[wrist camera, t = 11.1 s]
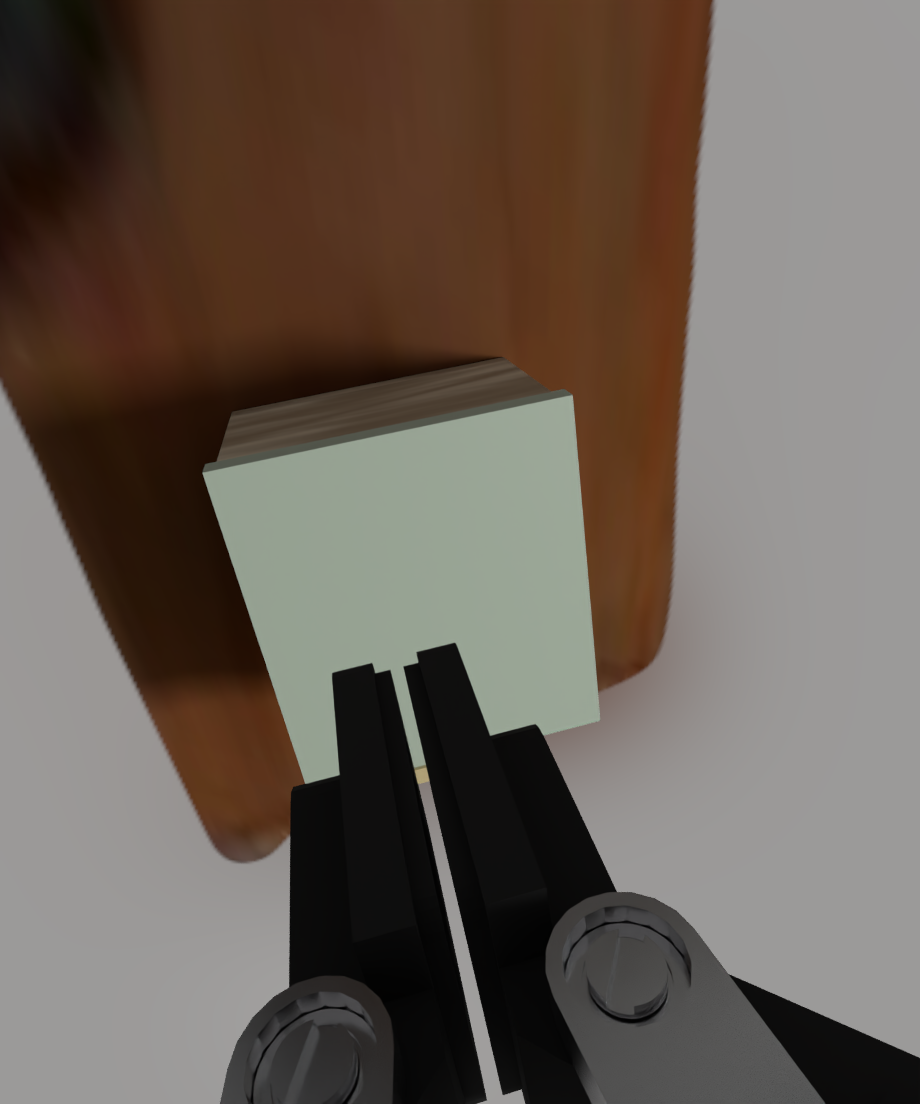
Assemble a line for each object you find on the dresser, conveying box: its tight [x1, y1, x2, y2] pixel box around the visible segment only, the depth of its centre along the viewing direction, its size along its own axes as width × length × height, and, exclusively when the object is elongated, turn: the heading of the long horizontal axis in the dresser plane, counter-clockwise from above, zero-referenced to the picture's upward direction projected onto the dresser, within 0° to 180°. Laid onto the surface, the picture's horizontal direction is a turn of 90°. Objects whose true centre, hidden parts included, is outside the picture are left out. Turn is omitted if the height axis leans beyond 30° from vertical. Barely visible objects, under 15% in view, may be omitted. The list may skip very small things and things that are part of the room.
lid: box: [202, 389, 600, 784], centre depth 38 cm, size 20×17×3 cm
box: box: [217, 357, 551, 462], centre depth 42 cm, size 18×16×10 cm
